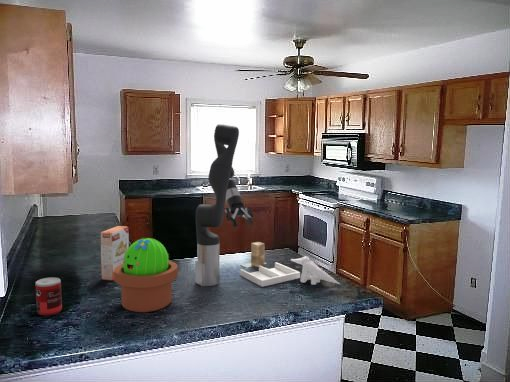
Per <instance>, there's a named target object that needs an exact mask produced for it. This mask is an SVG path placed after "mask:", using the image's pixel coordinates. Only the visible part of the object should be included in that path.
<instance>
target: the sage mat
mask: <svg viewBox="0 0 510 382" xmlns="http://www.w3.org/2000/svg"><path fill="white" fill-rule="evenodd" d="M265 264H267V262H265V261H264V265H265ZM240 266H241V267H242V268H244V269H245V268H250V267H251V268H252V266H251V262H249V263H248V262H247V263H241V264H240Z"/></svg>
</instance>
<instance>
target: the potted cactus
mask: <svg viewBox="0 0 510 382" xmlns="http://www.w3.org/2000/svg"><path fill="white" fill-rule="evenodd" d="M169 258H170V257H169V253H168V251H167V249H166V247H165V246H164V243H163V244H162V242H160V241H159V240H157V239H155V238H151V237H143V236H142V237H141V238H140V239H135V241H134V242H133V243H132V244H130V245H129V248H128V249H127V251H126V253H125V256H124V259H123V264H121V265H119V266H117V267H116V268H115V269H114V280H113V281H114V282H115V283H116V284H117V285H119V286H120V289H121V294H120V295H121V306H122V307H123V308H124V309H125V310H128V311H131V312H135V313H150V312H155V311H159V310H161V309H164V308H165V307H167V306H169V305H170V304H171V303H172V299H173V298H172V297H173V295H172V294H173V293H172V289H173V288H172V282H173V281H175V280H176V279H177V278H178V276H179V273H178V272H179V271H178V269H179V267H178V264H177V263H176V262H174V261H172V260H170V259H169Z"/></svg>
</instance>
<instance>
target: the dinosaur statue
mask: <svg viewBox="0 0 510 382" xmlns="http://www.w3.org/2000/svg"><path fill="white" fill-rule="evenodd" d="M290 262H294V263H296V264H298V265H301V266H302V269H301V273H300V278H299V279H300V283H302V284H303V283H306V282H307V281H310V284H311V285H317V284H319V283H320V282H321V280H322V281H325V282H329V283H334V284H338V285H341V283H340V282H339V281H337V280H336V279H335V278H334V277H332V276H331V275H329V274H328V273H327V272H326V270H323V268H322V267H321V268H320V267H319V266H318V265H317V263H315V262H314V261H313V260H311V259H310V257H309V256H306V255H304V256H302V257H300V258H290Z"/></svg>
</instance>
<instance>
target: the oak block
mask: <svg viewBox="0 0 510 382" xmlns="http://www.w3.org/2000/svg"><path fill="white" fill-rule="evenodd" d="M250 245H251V246H250V247H251V249H250V250H251V251H250V252H251V255H250V260H251V261H250V263H251V267H256V268H259V266H260V265H261V266H263V267H265V264H264V262H265V256H266V255H265V253H266V252H265V249H266V248H265V243H264V242H261V241H256V242H251V244H250Z"/></svg>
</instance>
